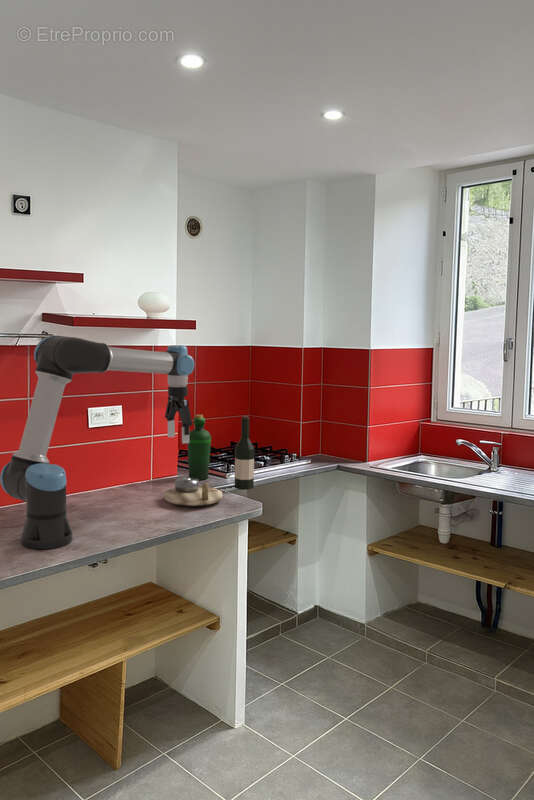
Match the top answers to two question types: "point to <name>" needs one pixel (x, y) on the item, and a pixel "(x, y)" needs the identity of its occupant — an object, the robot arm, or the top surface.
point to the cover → (186, 484)
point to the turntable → (194, 496)
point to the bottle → (199, 450)
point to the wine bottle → (244, 459)
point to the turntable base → (193, 505)
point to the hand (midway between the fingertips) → (178, 440)
